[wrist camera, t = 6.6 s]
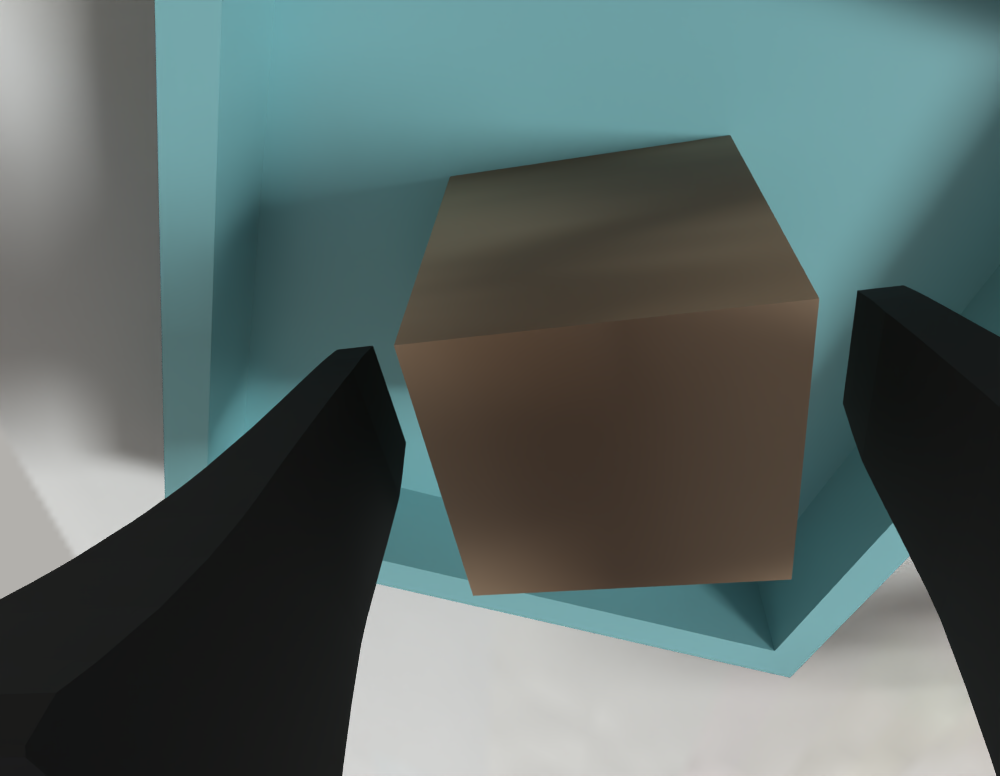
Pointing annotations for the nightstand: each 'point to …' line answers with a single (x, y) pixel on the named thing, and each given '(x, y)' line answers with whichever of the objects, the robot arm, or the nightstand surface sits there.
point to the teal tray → (551, 137)
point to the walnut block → (613, 371)
